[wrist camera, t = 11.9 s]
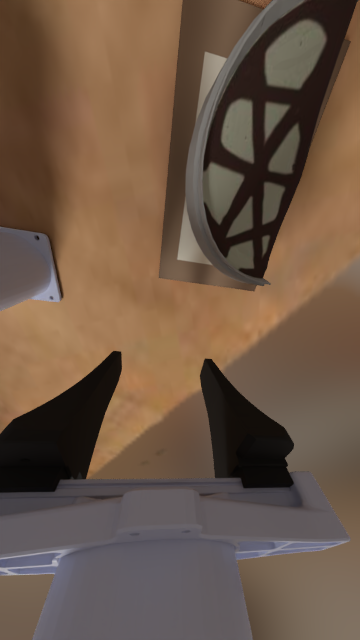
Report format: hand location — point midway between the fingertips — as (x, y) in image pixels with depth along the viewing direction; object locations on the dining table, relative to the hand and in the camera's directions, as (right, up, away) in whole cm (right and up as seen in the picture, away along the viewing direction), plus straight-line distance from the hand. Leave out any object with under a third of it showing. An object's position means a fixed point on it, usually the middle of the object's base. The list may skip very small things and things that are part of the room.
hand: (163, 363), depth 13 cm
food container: (+4, +16, +3) cm, 17 cm away
